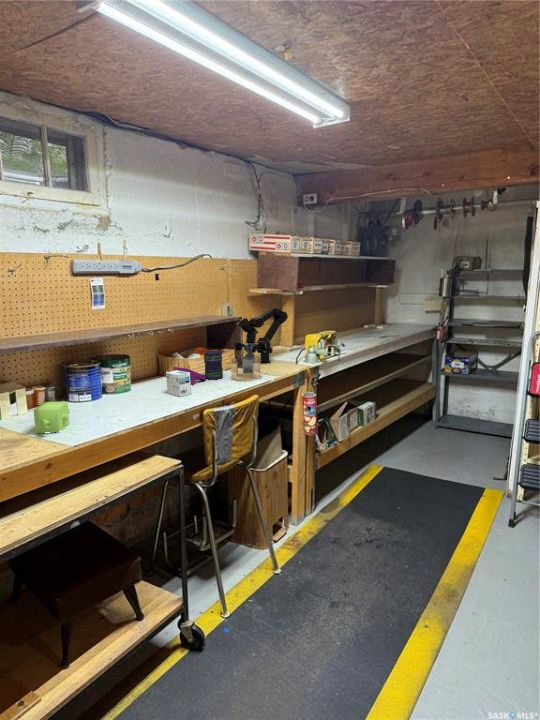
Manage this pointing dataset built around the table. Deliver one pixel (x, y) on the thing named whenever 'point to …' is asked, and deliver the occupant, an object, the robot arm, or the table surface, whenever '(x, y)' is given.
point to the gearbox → (51, 417)
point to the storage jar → (213, 364)
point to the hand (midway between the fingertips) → (249, 357)
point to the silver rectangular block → (248, 363)
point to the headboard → (245, 376)
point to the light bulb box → (178, 383)
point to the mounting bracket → (191, 374)
